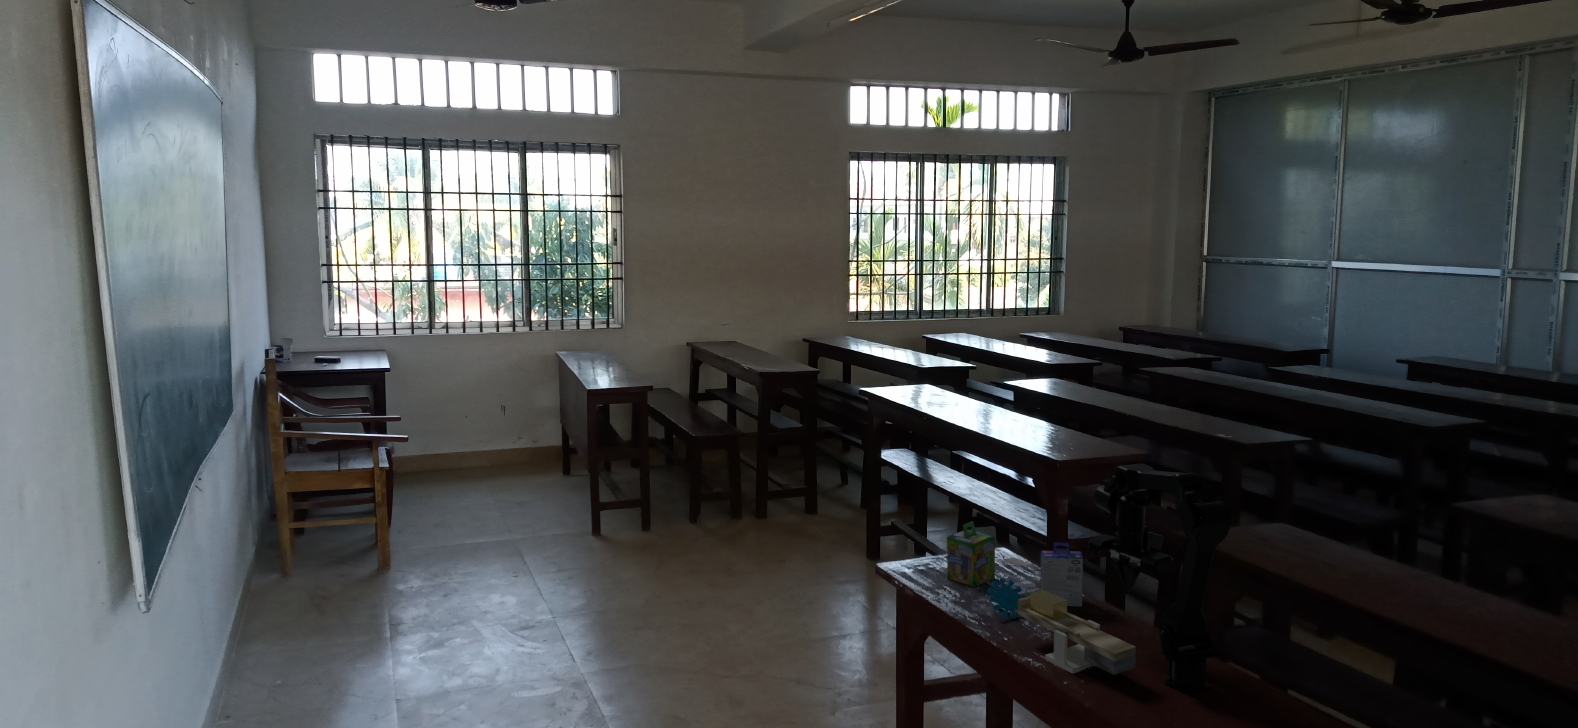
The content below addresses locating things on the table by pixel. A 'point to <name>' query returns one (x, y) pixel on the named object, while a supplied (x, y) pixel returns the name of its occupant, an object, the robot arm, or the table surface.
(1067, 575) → the ink cartridge box
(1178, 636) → the robot arm
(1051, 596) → the beige rectangular block
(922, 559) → the table surface
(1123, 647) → the seesaw beam
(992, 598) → the gear
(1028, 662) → the table surface
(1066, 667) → the pivot stand
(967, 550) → the chalk box
